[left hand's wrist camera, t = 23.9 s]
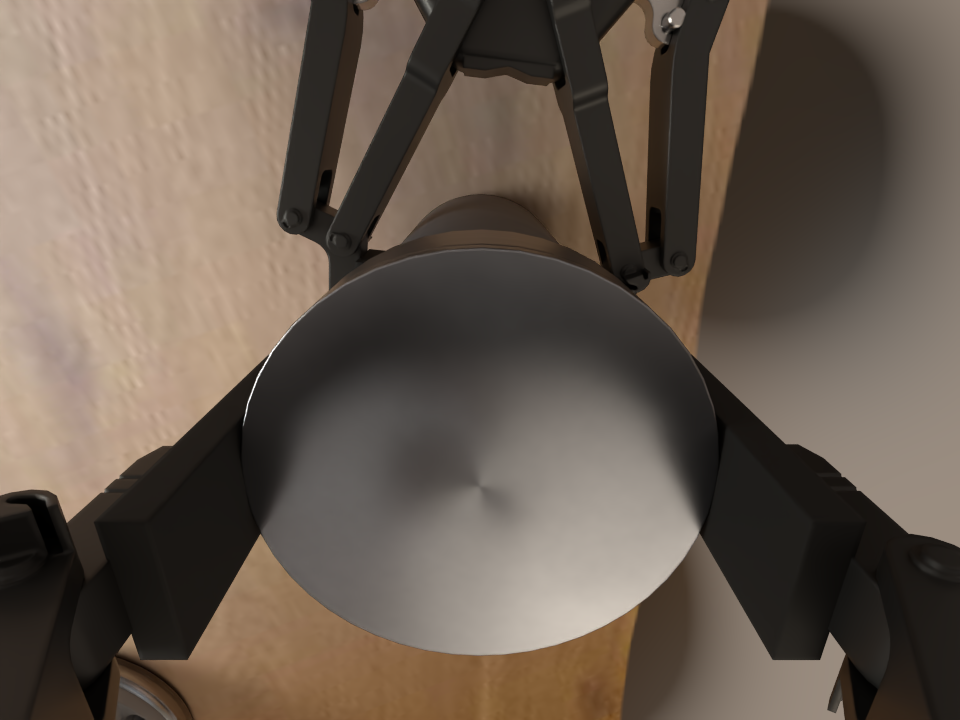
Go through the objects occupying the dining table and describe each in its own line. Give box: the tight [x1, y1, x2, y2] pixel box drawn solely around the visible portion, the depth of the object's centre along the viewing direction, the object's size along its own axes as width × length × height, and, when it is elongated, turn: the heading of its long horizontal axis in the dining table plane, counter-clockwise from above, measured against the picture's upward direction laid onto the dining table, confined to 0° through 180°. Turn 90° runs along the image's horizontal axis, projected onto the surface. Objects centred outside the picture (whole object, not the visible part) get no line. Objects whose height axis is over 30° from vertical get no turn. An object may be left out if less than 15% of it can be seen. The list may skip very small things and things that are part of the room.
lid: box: [241, 230, 719, 656], centre depth 11 cm, size 9×9×2 cm
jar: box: [402, 195, 559, 244], centre depth 19 cm, size 8×8×18 cm
